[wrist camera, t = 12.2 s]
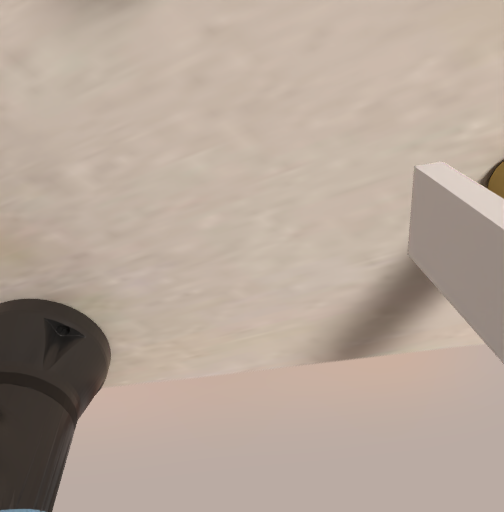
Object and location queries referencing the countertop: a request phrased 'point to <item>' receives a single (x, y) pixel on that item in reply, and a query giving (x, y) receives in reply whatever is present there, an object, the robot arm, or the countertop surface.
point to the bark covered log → (497, 181)
